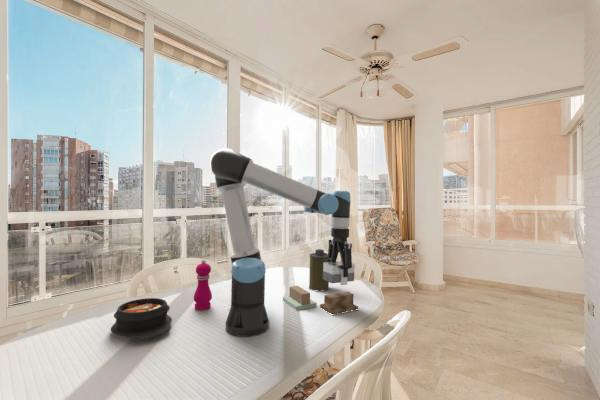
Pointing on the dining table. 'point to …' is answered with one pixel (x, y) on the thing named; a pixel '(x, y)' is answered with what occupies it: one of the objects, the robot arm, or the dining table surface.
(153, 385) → the dining table surface
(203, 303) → the pepper mill
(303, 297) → the stand
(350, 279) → the base plate
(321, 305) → the stand
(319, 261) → the canister
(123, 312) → the casserole
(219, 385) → the dining table surface
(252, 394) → the dining table surface
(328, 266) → the cover plate
